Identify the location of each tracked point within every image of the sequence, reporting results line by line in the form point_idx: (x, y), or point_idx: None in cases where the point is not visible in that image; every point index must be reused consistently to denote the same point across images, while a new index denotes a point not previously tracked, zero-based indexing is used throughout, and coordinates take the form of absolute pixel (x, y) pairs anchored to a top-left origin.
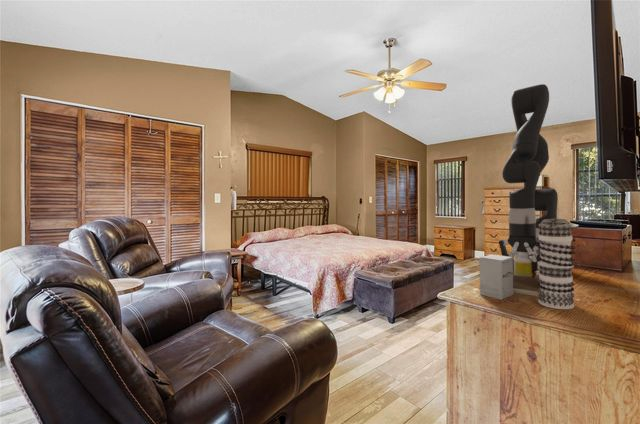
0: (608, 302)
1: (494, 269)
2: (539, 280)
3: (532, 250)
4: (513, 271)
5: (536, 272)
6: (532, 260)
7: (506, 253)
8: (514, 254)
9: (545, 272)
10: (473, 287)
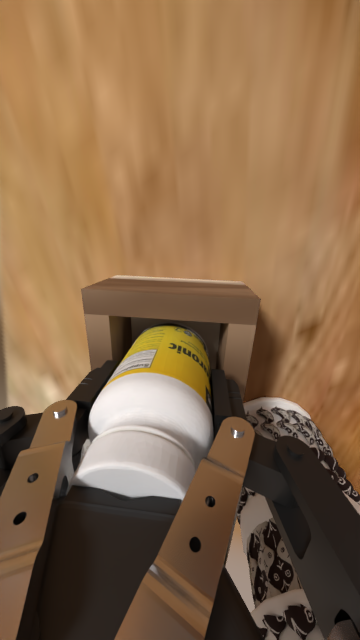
0: None
1: None
2: (239, 517)
3: (220, 512)
4: (114, 313)
5: (226, 320)
6: (213, 433)
7: (7, 444)
8: (70, 442)
9: (271, 594)
10: (38, 378)
